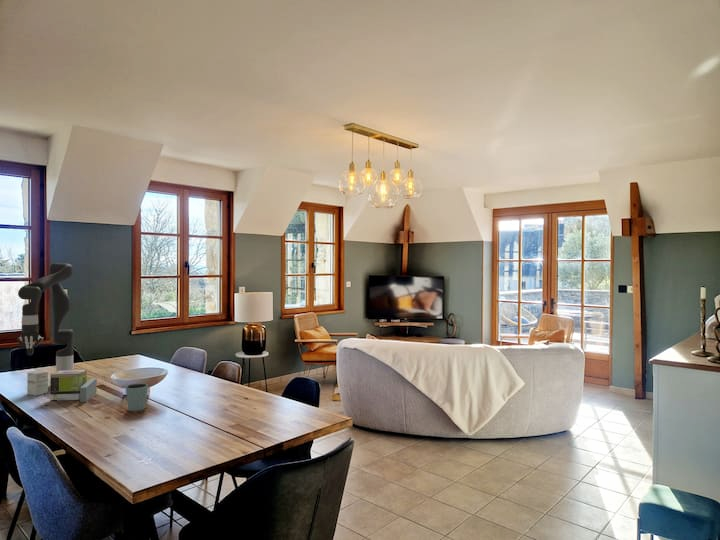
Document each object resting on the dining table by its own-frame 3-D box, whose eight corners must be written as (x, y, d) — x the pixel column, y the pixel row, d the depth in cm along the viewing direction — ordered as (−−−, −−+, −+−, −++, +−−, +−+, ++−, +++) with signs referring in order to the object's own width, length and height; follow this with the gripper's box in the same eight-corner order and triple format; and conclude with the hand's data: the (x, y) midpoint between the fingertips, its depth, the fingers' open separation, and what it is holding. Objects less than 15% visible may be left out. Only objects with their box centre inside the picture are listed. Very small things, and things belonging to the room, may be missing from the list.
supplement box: (26, 394, 276) (26, 372, 276) (39, 391, 283) (39, 369, 283) (35, 396, 273) (35, 373, 273) (48, 392, 280) (48, 371, 280)
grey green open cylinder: (151, 407, 254) (151, 384, 253) (134, 412, 245) (134, 389, 245) (138, 405, 258) (138, 382, 258) (121, 409, 249) (121, 386, 249)
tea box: (87, 395, 276) (87, 369, 275) (79, 400, 266) (79, 373, 265) (58, 396, 274) (59, 369, 274) (49, 401, 264) (49, 373, 264)
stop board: (90, 392, 283) (90, 378, 283) (96, 391, 284) (96, 378, 283) (80, 402, 262) (80, 387, 261) (86, 402, 262) (86, 387, 262)
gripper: (46, 322, 271) (46, 353, 271) (18, 322, 267) (18, 354, 268) (41, 323, 264) (41, 355, 264) (13, 324, 260) (13, 356, 260)
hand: (30, 355), depth 266 cm, fingers closed
